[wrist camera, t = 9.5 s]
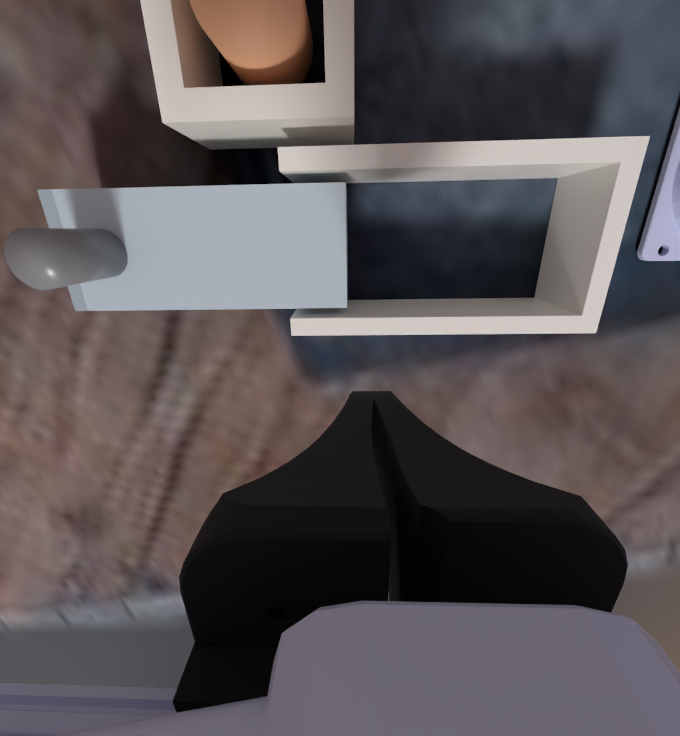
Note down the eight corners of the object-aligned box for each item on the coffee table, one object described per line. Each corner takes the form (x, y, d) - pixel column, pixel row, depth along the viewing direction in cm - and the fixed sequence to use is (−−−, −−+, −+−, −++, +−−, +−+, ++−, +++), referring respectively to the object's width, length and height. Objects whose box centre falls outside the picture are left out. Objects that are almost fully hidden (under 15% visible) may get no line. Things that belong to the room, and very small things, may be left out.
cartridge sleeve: (578, 158, 16) (650, 135, 12) (545, 311, 19) (596, 333, 15) (294, 166, 17) (277, 146, 13) (303, 314, 20) (291, 335, 16)
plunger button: (311, -13, 14) (295, -104, 10) (315, 97, 15) (302, 53, 11) (222, -9, 14) (174, -97, 10) (234, 99, 15) (196, 58, 11)
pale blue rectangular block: (346, 191, 17) (343, 166, 10) (348, 294, 19) (345, 329, 12) (96, 197, 17) (-59, 177, 11) (122, 297, 19) (4, 332, 13)
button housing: (353, -59, 14) (353, -185, 10) (353, 145, 16) (354, 116, 12) (182, -50, 14) (110, -169, 10) (210, 149, 17) (162, 122, 12)
